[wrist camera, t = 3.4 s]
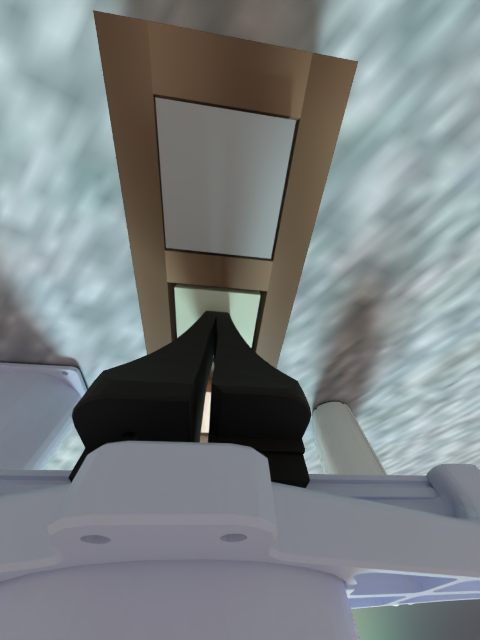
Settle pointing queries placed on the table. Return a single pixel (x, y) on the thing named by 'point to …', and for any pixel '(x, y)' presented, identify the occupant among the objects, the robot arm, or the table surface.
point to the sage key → (216, 306)
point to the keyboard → (228, 93)
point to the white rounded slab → (343, 443)
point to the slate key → (221, 177)
